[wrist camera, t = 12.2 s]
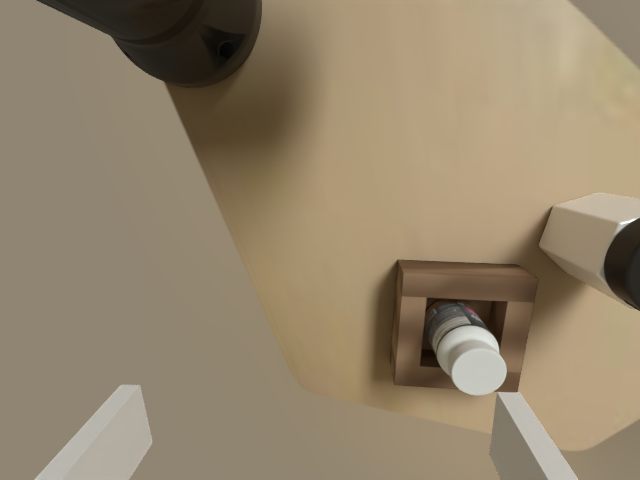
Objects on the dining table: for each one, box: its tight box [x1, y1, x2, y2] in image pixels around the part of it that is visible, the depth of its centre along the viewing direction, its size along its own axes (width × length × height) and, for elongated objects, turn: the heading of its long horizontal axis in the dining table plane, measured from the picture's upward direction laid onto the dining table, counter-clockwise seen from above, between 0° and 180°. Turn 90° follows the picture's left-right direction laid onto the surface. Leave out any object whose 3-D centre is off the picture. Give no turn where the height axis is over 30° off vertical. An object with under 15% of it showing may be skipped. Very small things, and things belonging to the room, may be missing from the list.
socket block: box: [390, 260, 538, 392], centre depth 38 cm, size 13×13×4 cm
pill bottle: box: [424, 298, 507, 396], centre depth 35 cm, size 6×6×10 cm
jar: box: [539, 192, 640, 311], centre depth 31 cm, size 9×8×12 cm
